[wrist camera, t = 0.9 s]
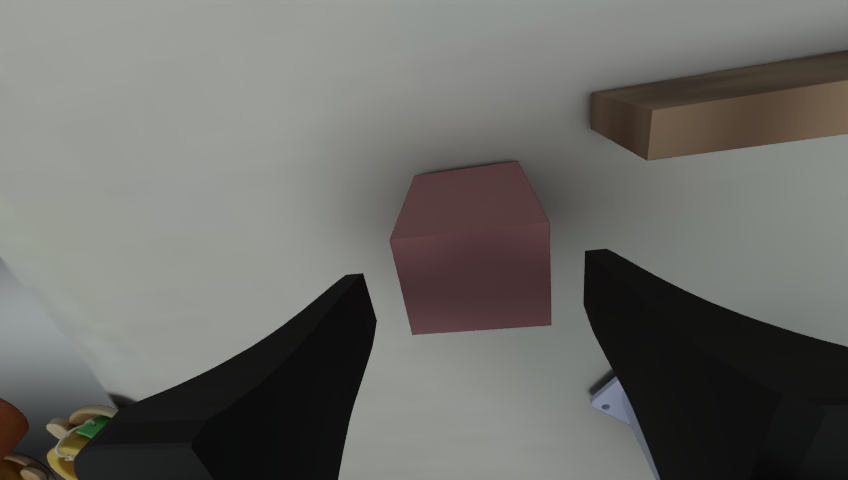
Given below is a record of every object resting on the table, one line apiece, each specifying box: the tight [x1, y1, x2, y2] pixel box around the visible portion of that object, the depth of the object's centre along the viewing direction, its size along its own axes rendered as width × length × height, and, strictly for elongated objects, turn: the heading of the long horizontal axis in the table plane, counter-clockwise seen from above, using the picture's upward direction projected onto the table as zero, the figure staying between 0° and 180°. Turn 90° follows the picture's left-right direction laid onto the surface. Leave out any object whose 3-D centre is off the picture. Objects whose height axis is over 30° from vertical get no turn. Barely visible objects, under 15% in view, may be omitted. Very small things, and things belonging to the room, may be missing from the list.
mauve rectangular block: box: [390, 161, 551, 335], centre depth 15 cm, size 5×4×7 cm
